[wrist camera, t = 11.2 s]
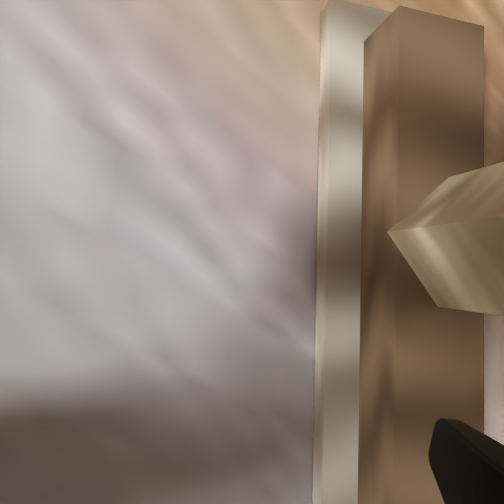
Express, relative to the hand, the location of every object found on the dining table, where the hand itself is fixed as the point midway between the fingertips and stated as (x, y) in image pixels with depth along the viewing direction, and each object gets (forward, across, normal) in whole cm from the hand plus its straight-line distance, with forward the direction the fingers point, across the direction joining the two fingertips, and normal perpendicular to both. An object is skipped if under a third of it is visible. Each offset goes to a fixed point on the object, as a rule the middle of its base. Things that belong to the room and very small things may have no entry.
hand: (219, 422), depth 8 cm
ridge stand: (+14, -9, +1) cm, 17 cm away
